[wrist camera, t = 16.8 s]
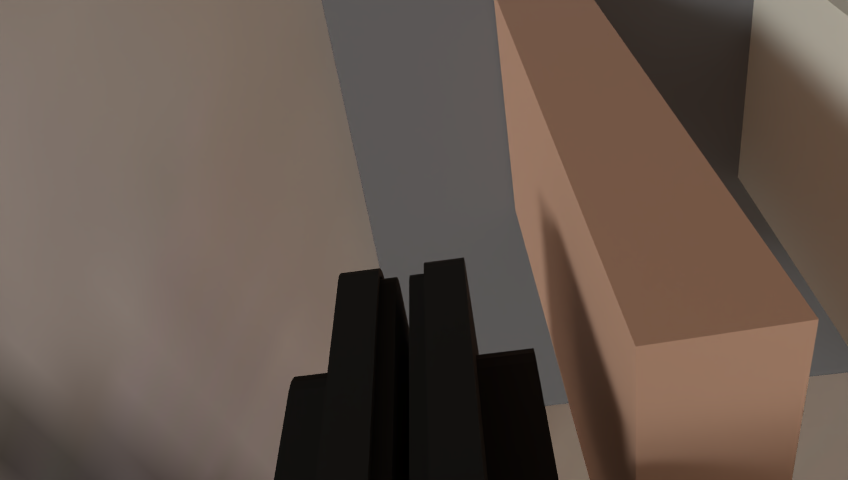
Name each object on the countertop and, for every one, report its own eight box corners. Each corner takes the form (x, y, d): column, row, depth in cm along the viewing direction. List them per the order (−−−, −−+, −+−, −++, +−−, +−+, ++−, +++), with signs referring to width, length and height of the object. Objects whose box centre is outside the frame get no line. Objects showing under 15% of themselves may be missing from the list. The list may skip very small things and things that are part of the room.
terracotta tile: (586, 198, 18) (766, 628, 10) (515, 209, 18) (636, 646, 10) (577, -25, 15) (818, 319, 7) (492, -10, 15) (635, 346, 7)
